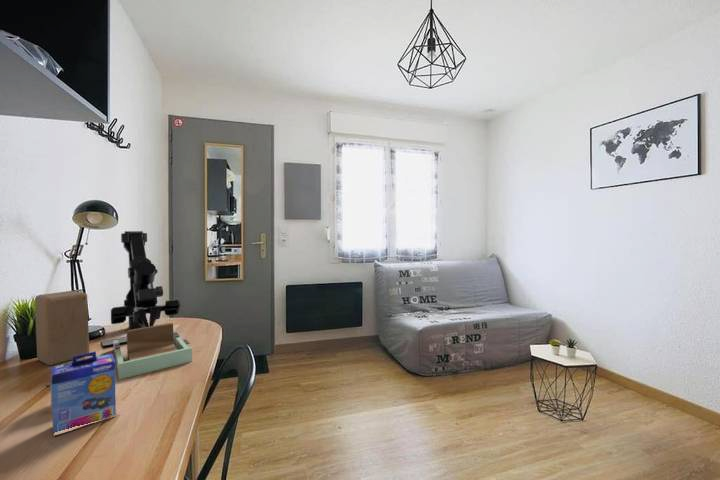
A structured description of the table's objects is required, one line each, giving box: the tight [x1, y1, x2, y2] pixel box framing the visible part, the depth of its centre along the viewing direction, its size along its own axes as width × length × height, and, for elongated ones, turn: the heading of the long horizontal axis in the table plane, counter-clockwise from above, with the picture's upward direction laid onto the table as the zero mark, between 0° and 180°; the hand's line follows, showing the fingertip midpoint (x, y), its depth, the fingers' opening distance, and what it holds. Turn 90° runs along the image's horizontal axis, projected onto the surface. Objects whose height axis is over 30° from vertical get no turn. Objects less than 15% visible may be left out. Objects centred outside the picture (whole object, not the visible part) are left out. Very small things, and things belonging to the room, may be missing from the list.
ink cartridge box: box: [50, 351, 117, 434], centre depth 65 cm, size 10×6×14 cm, turn 135°
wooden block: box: [34, 290, 90, 366], centre depth 99 cm, size 10×10×20 cm
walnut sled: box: [126, 322, 178, 361], centre depth 96 cm, size 12×12×9 cm
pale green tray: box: [111, 329, 193, 380], centre depth 100 cm, size 28×23×4 cm
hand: (149, 333), depth 101 cm, fingers closed
